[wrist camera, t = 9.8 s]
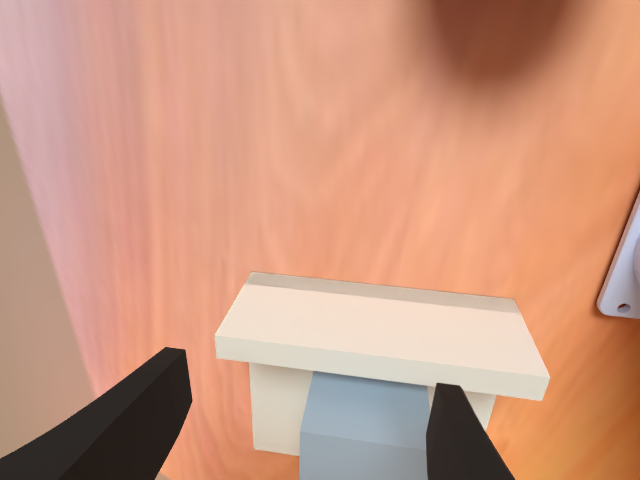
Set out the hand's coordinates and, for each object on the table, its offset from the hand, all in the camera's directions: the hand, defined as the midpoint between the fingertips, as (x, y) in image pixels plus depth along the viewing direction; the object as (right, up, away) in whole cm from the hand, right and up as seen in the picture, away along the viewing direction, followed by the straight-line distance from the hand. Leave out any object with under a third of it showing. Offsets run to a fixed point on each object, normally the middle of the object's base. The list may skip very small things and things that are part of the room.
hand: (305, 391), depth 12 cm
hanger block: (+3, -4, +11) cm, 12 cm away
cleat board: (+3, -3, +12) cm, 13 cm away
